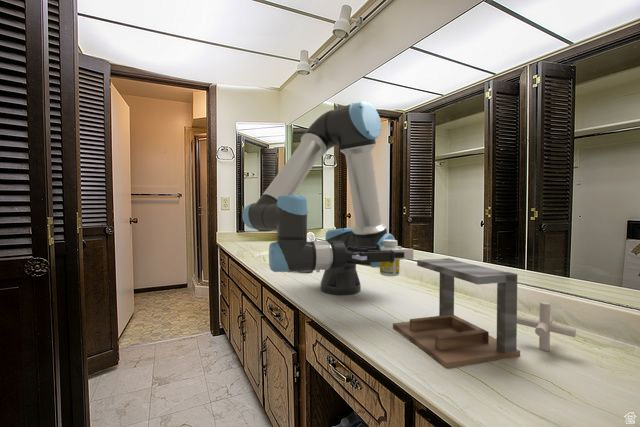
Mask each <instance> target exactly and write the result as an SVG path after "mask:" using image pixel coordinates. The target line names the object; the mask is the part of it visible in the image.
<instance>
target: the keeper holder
mask: <svg viewBox="0 0 640 427" xmlns="http://www.w3.org/2000/svg"><path fill="white" fill-rule="evenodd" d="M416 265H417V267H420V268H423V269H427V270H430V271H434V272H436V273H439V293H438V294H439V301H438V302H439V304H438V306H439V309H438V315H435V316H425V317H418V318H410V319H409V321H402V322H392V328H393V329H395V330H396V331H397V332H399V333H400V334H402V335H403V336H404V337H405V338H407V339H408V340H409V341H411V342H412V343H413V344H415V346H417V347H418V348H419V349H421V350H422V351H423V352H425V353H426V354H428V356H430V357H431V358H433V359H434V360H435V361H436V362H438V363H440V364H441V365H442V366H444V368H446V369H451V368H457V367H461V366H467V365H475V364H480V363H485V362H486V363H487V362H492V361H497V360H503V359H509V358H515V357H519V356H521V350H520V349H517V344H518V343H517V340H518V338H517V336H518V335H517V334H518V333H517V332H518V330H517V329H518V327H517V326H518V324H517V316H518V273H513V272H510V271H503V270H499V269H493V268H491V267H490V268H489V267H486V266H481V265H477V264H474V263H470V262H469V263H468V262H465V261H460V260H456V259H455V258H454V259H453V258H450V257H449V258H431V259H430V258H429V259H417V260H416ZM455 278H456V279H459V280H462V281H465V282H469V283H472V284H475V285H488V284H489V285H490V284H497V285H496V288H497V289H496V338H495V337H493V336H492V335H489V331H487V330H486V329H484V328H481V327H479V326H477V325H476V324H473V323H472V322H469V321H468V320H465V319H463V318H461V317H459V316H457V315H455Z"/></svg>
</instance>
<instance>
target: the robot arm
mask: <svg viewBox="0 0 640 427" xmlns="http://www.w3.org/2000/svg"><path fill="white" fill-rule="evenodd" d="M376 109H377V108H375V107H374V105H373V104H372V103H370V102H368V101H359V102H354V103H353V102H352V103H351V104H347V105H345V106H340V107H338V108H334V109H331V110H328V111H326V112H324V113H323V114H321V115H320V116H319V117H317V118H316V119H315V120H314V122H313V123H311V124H310V126H309V127H308V128H307V129H306V131H305V132H304V133H303V134H302V135H301V138H300V143H299V145H298V146H297V147H296V149H294V150H295V151H294V152H293V153H292V155H291V156H289V159H287V161H286V162H285V164H284V165H283V166H282V167H281V169H280V170H279V172H278V173H277V174H276V176H275V177H274V178H273V180H272V182H270V184H269V186H267V187H266V189H265V190H264V192H263V193H262V195H261V196H260V197H259V198H258V200H257V201H256V202H253V203H250V204H248V205H246V206H245V207H244V208H243V211H242V221H243V223H244V225H245V226H246V227H248V228H249V229H252V230H256V231H273V232H277V234H276V235H277V236H276V238H277V239H276V241H275V242H271V243H270V244H269V247H268V265H269V268H270V270H271V271H272V272H274V273H279V272H280V273H296V272H297V273H298V272H299V271H313V270H314V271H316V272H315V273H320V272H321V271H324V272H323V275H322V277H321V281H320V290H321V291H322V292H324V293H326V294H330V295H332V294H333V295H339V296H340V295H352V294H353V295H354V294H357V293H359V292H360V291H361V288H362V287H361V286H362V285H361V281H360V278H359V275H358V271H357V265H359V266H365V267H371V268H374V269H375V268H379V269H380V262H391V263H393V262H394V260H414V248H402V246H400V245H397V246H396V247H397V248H398V249H392V250H390V251H386V250H380V249H381V248H382V247H384V245H383V240H396V238H395V237H394V235H393V234H391V233H388V229H387V226H386V224H385V223H383V222H382V221H381V220H382V219H381V212H380V204H379V203H380V202H379V197H378V189H377V188H378V187H377V181H376V172H375V165H374V164H375V163H374V157H373V149H374V148H375V146H376V145H377V143H376V142H377V141H376V139H378V138H379V137H380V136H381V133H382V132H381V130H382V120H381V118H380V115H379V113H378V111H377V110H376ZM337 146H338V147H339V151H340V152H341V153H342V154H344V156H345V162H346V168H347V175H348V182H349V188H350V189H349V190H350V196H351V203H352V209H353V215H354V222H355V226H354V227H344V228H335V229H328V230H327V231H325V240H312V241H308V236H307V235H308V212H309V211H308V206H307V205H308V203H307V202H308V200H307V198H306V196H304V195H301V194H300V195H299V194H295V193H296V191H297V190H298V189H299V188H300V186H301V184H302V183H303V181H304V180H305V179H306V177H307V176H308V175H309V173H310V171H311V170H312V169H313V167H314V165H315V164H316V162H317V161H318V159H319V158H320V157H323V156H325V154H326V153H327V151H329V150H330V149H331V148H334V147H337ZM314 271H313V272H314Z"/></svg>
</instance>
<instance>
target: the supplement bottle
mask: <svg viewBox="0 0 640 427" xmlns="http://www.w3.org/2000/svg"><path fill="white" fill-rule="evenodd" d="M383 245H384V247H382V248H381V249H380V250H386V251H390V250H392V249H398V248H397V247H396V246H399V245H398V240H396V239H395V240H383ZM400 262H401V261H400V260H394V262H393V263H391V262H380V268H379V274H380V275H381V276H384V277H397V276H399V275H400Z"/></svg>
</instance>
